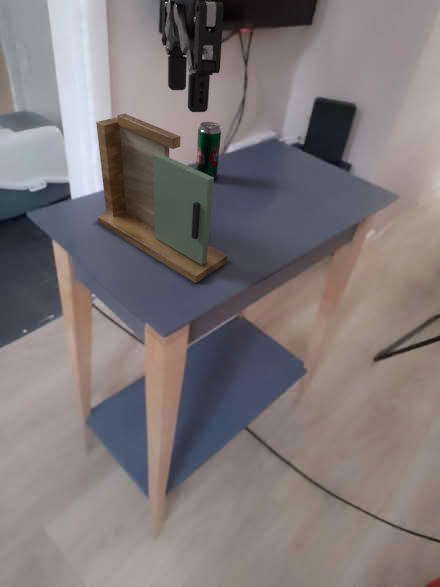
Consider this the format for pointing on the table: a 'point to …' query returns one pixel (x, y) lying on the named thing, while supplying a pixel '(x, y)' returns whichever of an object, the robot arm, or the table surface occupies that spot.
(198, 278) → the door frame
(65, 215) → the table surface
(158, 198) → the door
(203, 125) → the soda can
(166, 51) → the robot arm
